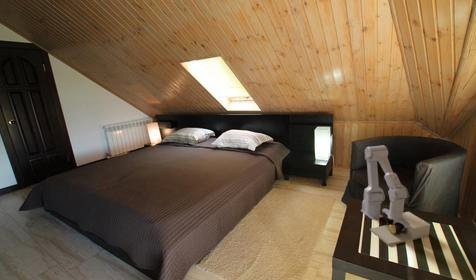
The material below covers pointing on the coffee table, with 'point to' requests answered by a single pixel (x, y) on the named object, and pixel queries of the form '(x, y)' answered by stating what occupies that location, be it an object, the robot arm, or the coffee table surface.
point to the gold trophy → (393, 229)
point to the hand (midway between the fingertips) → (393, 230)
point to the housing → (413, 232)
